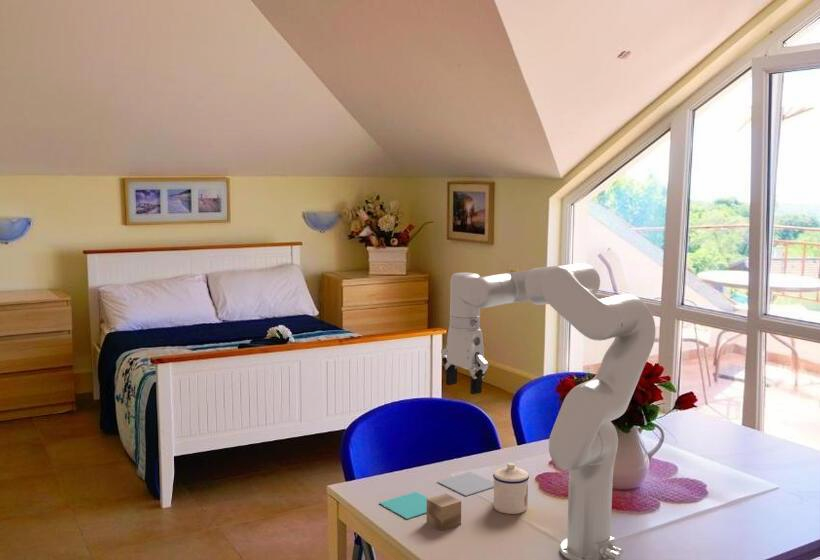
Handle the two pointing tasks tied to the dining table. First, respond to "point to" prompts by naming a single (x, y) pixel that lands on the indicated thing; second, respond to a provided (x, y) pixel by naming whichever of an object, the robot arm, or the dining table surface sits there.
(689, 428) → the dining table surface
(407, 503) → the teal mat
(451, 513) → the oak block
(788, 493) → the dining table surface
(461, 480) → the grey mat
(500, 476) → the teacup with lid
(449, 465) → the dining table surface
